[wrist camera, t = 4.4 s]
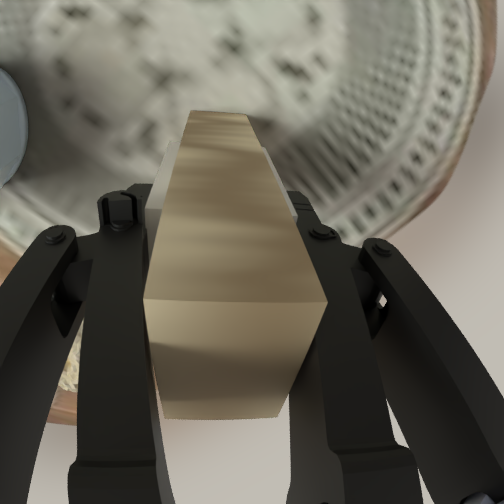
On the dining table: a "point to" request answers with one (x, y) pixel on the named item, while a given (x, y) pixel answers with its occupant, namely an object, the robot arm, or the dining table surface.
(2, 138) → the jar
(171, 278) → the tan bar
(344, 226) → the dining table surface
